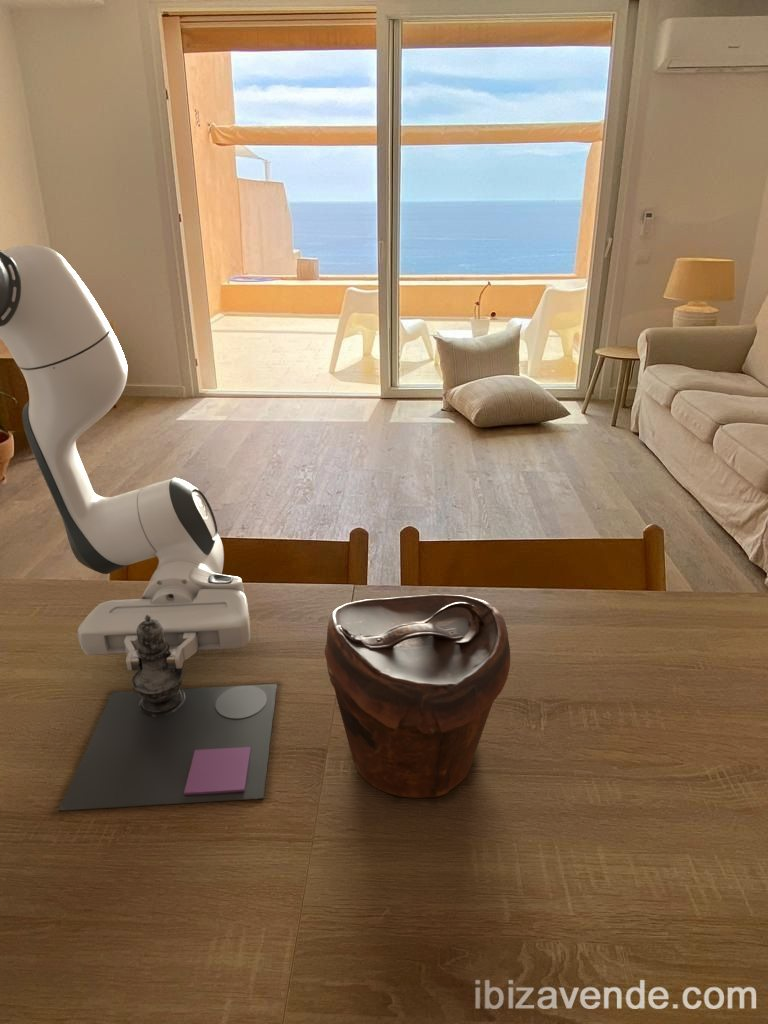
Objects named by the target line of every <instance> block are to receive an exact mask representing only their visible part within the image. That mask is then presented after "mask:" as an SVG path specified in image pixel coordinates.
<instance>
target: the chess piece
mask: <svg viewBox="0 0 768 1024" xmlns="http://www.w3.org/2000/svg"><path fill="white" fill-rule="evenodd" d="M144 619H145V621H143V622H141V623H140V624H139V625H138V627H137V631H136V632H137V637H138V643H139V648H138V650H137V656H138V657H139V658H141V663H142V670H137V671H135V673H134V675H133V676H132V678H131V687H132V688H133V690H134V691H136V692H137V693H138V694H139V696H140V697H141V700H140V702H139V709H140V711H141V712H142V713H143V714H145V715H148V716H153V717H158V716H164V715H168V714H170V713H173V712H175V711H176V710H178V709H179V708H180V707H181V706H182V705H183V703H184V702H185V693H184V692H183V691H182V690H181V689H182V688H181V687H182V684H183V680H184V677H185V669H184V668H183V667H182V668H181V669H168V667H167V665H168V663H167V661H166V657H167V654H168V651H169V648H170V647H169V644H168V643H167V642H165V638H164V632H163V627H162V624H161V623H160V622H159V621H158V620H155V619H151V617H149V616H148V615H146V617H145V618H144Z"/></svg>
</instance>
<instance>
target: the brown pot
mask: <svg viewBox="0 0 768 1024" xmlns="http://www.w3.org/2000/svg"><path fill="white" fill-rule="evenodd" d="M326 630H327V631H326V640H325V641H326V643H325V645H324V647H325V648H324V656H325V661H326V668H327V671H328V672H327V673H328V677H329V682H330V684H331V685H332V687H333V688H334V693H335V697H336V700H337V701H336V702H337V705H338V708H339V712H340V716H341V721H342V723H343V727H344V731H345V735H346V739H347V743H348V746H349V750H350V754H351V758H352V761H353V763H354V766H355V768H356V770H357V771H358V773H359V774H360V775H361V776H362V778H363V779H365V780H366V781H367V783H369V785H372V786H373V787H375V788H376V789H378V790H380V791H382V792H385V793H387V794H391V795H393V796H398V797H402V798H403V797H404V798H407V799H414V798H415V799H419V798H437V797H441V796H444V795H446V794H448V793H449V791H451V790H452V789H454V788H456V786H458V785H459V784H460V783H461V782H462V781H463V780H464V779H465V778H466V776H467V775H468V774H469V772H470V770H471V767H472V765H473V761H474V758H475V754H476V751H477V748H478V746H479V743H480V741H481V737H482V734H483V732H484V728H485V727H486V723H487V721H488V718H489V715H490V711H491V710H492V707H493V703H494V702H495V700H496V699H498V696H499V695H500V694H501V692H502V691H503V689H504V687H505V685H506V683H507V680H508V678H509V674H510V673H509V672H510V667H511V648H510V647H511V646H510V641H509V640H510V639H509V633H508V628H507V624H506V621H505V619H504V617H503V615H502V614H501V612H500V611H499V610H498V609H497V608H496V607H495V606H494V605H492V603H489V602H488V601H485V600H483V599H479V598H476V597H472V596H468V595H462V594H461V595H460V594H459V595H458V594H441V593H440V594H437V593H436V594H425V595H424V594H423V595H422V594H421V595H411V596H410V595H409V596H398V597H397V596H396V597H387V598H370V599H369V598H368V599H363V600H356V601H352V602H348V603H345V604H343V605H341V606H338V607H336V608H335V609H334V610H332V612H331V614H330V616H329V619H328V623H327V629H326Z"/></svg>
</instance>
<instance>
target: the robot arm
mask: <svg viewBox="0 0 768 1024" xmlns="http://www.w3.org/2000/svg"><path fill="white" fill-rule="evenodd" d="M0 340H1V341H2V343H3V344H4V345H5V347H6V348H7V350H8V352H9V353H10V356H11V357H12V358H13V361H14V362H15V363H16V365H17V367H18V368H19V370H20V372H21V374H22V375H23V377H24V380H25V382H26V386H27V391H28V398H29V399H28V401H27V402H26V404H24V406H23V409H22V412H21V415H22V417H21V418H22V424H23V430H24V432H25V435H26V439H27V441H28V445H29V447H30V449H31V452H32V454H33V456H34V460H35V461H36V464H37V466H38V468H39V470H40V472H41V475H42V477H43V479H44V481H45V484H46V486H47V488H48V490H49V493H50V495H51V497H52V499H53V501H54V503H55V506H56V508H57V510H58V512H59V515H60V517H61V520H62V522H63V525H64V530H65V532H66V536H67V540H68V543H69V546H70V549H71V551H72V553H73V555H74V557H75V559H76V561H77V562H79V563H80V564H82V566H84V567H86V568H88V569H89V570H92V571H94V572H97V573H99V574H102V575H109V574H112V573H115V572H117V571H120V570H122V569H124V568H127V567H129V566H131V565H133V564H137V563H140V562H144V561H147V560H151V559H153V558H157V559H158V563H157V567H156V569H155V570H154V572H153V573H152V575H151V577H150V579H149V582H148V583H147V585H146V587H145V589H144V592H143V594H142V596H141V598H132V599H131V598H130V599H113V600H107V601H103V602H101V603H99V604H98V605H96V606H95V607H94V608H93V609H92V610H91V611H90V612H89V613H88V615H87V616H86V617H85V618H84V620H83V621H82V622H81V623H80V625H79V626H78V628H77V638H78V643H79V647H80V649H81V651H82V652H83V654H85V655H86V656H107V655H109V656H110V655H125V654H126V655H125V656H126V658H125V665H126V669H127V671H128V672H138V671H139V670H142V663H141V658H139V657H138V656H137V650H138V648H139V643H138V637H137V632H136V631H137V627H138V625H139V624H140V623H141V622H143V621H145V619H144V618H145V617H146V615H148V616H149V617H151V619H155V620H158V621H159V622H160V623H161V624H162V627H163V632H164V638H165V642H167V643H168V644H169V647H170V648H169V651H168V654H167V657H166V661H167V663H168V665H167V667H168V669H181V668H183V666H184V665H183V664H184V662H185V661H187V660H188V659H189V658H191V657H192V656H194V655H195V654H196V653H197V651H212V650H213V651H215V650H216V651H217V650H241V649H243V648H245V647H246V646H248V645H249V644H250V642H251V622H250V614H249V613H250V612H249V604H248V599H247V597H246V593H245V587H244V584H243V580H242V578H241V577H239V576H235V575H227V574H223V569H224V564H225V563H224V562H225V551H224V545H223V542H222V539H221V537H220V535H219V534H218V524H217V520H216V517H215V514H214V512H213V509H212V507H211V505H210V503H209V501H208V499H207V497H206V496H205V495H204V493H203V492H202V491H201V490H200V489H198V488H197V487H196V486H194V485H193V484H191V483H190V482H188V481H187V480H184V479H181V478H178V477H173V478H170V479H166V480H163V481H159V482H158V481H157V482H155V483H152V484H148V485H145V486H141V488H137V489H134V490H130V491H127V492H124V493H121V494H117V495H113V496H107V497H106V496H101V495H98V494H97V493H95V491H94V489H93V486H92V484H91V482H90V479H89V475H88V474H87V471H86V470H85V467H84V464H83V462H82V459H81V457H80V454H79V452H78V449H77V440H78V439H79V438H80V437H81V436H82V435H83V434H84V433H85V432H86V431H87V430H89V429H90V428H91V427H92V426H94V425H95V424H96V423H98V421H100V420H101V419H102V418H104V417H105V416H106V414H108V413H109V412H110V411H111V410H112V408H113V407H114V406H115V405H116V404H117V402H118V401H119V399H120V398H121V395H122V394H123V392H124V390H125V388H126V385H127V380H128V364H127V360H126V358H125V354H124V352H123V350H122V347H121V345H120V343H119V340H118V338H117V336H116V335H115V333H114V331H113V329H112V327H111V325H110V323H109V321H108V320H107V318H106V316H105V315H104V313H103V311H102V309H101V308H100V306H99V304H98V302H97V301H96V300H95V298H94V296H93V295H92V293H91V292H90V290H89V289H88V287H87V286H86V285H85V283H84V281H82V279H81V278H80V276H79V275H78V274H77V272H76V271H75V270H74V268H73V267H72V266H71V265H70V264H69V263H68V261H67V260H66V259H65V258H64V257H63V255H62V254H61V253H59V252H58V251H57V250H54V248H53V249H52V248H51V247H49V246H44V245H39V244H20V245H16V246H12V247H9V248H7V249H5V250H1V249H0Z"/></svg>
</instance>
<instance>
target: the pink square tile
mask: <svg viewBox="0 0 768 1024" xmlns="http://www.w3.org/2000/svg"><path fill="white" fill-rule="evenodd" d="M250 751H251V747H242V748H224V749H206V750H195V752H194V756H193V759H192V763H191V767H190V771H189V775H188V779H187V783H186V787H185V791H184V795H194V794H211V793H228V792H244V791H245V784H246V778H247V771H248V765H249V758H250Z"/></svg>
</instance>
